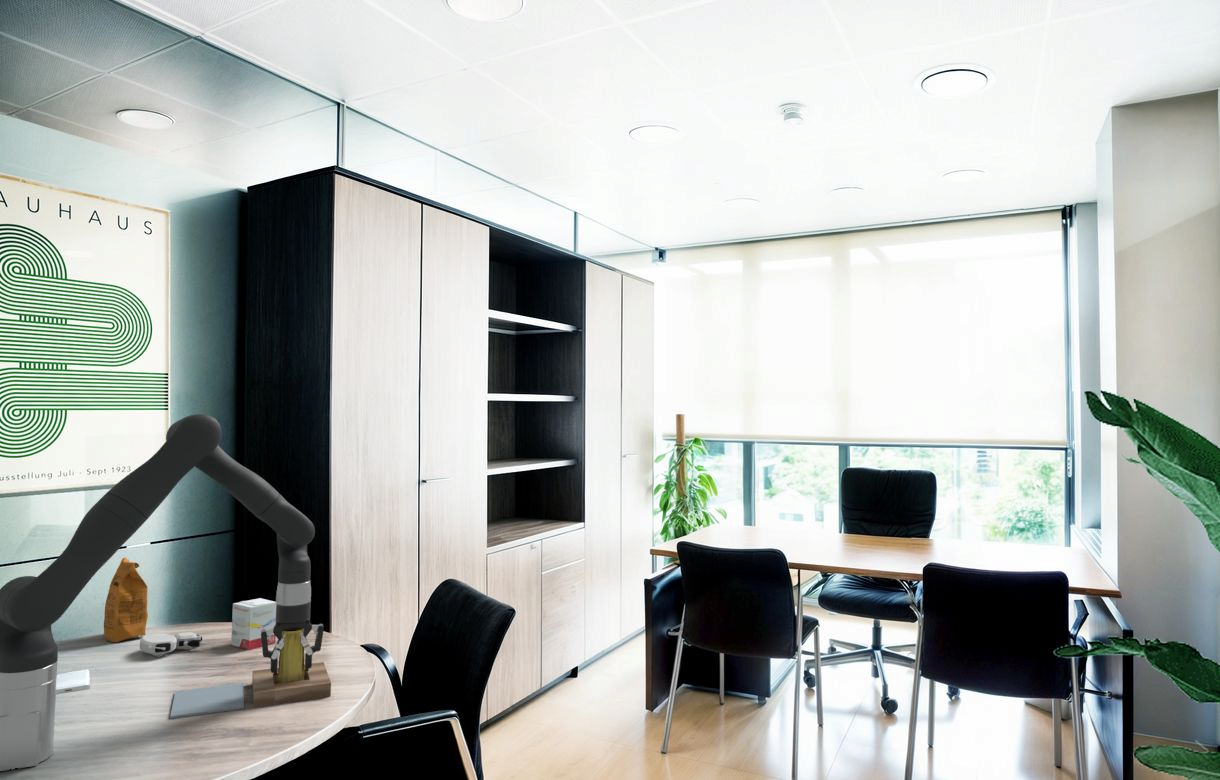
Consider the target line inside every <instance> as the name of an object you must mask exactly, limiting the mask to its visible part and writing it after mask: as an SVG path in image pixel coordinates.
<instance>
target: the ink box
mask: <svg viewBox="0 0 1220 780" xmlns="http://www.w3.org/2000/svg"><path fill="white" fill-rule="evenodd" d="M231 613H232V617H231V618H232V619H231V638H230V639H231V640H230V645H231V646H234V647H238V648H241V649H246V650H249V651H251V650H255V649H258V648H261V647H262V641H261V630H262V629H265V630H269V629H273V628H274V626H275V623H276V601H273V600H269V599H265V598H262V597H259V598H255V599H254V598H253V599H249V600H242V601H241V600H240V601H239V602H234V603H232V612H231ZM267 642H268V646H269V645H272V644H276V636H275V635H274V634H272V635H271V638H270V639H269V640H267Z"/></svg>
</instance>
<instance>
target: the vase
mask: <svg viewBox="0 0 1220 780" xmlns="http://www.w3.org/2000/svg"><path fill="white" fill-rule="evenodd" d="M301 631H302V633H303V635H304V629H301V630H297V631H282V636H283V635H284V634H285V638H284V646H283V648H282V650H281V651H280V652H279V654H278V656H279V657H278V667H277V668H278V684H280V683H287V682H295V681H303V680H304V664H305V649H304V647H303V645H302V643H301ZM281 645H282V644H281Z"/></svg>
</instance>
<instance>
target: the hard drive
mask: <svg viewBox="0 0 1220 780" xmlns="http://www.w3.org/2000/svg"><path fill="white" fill-rule="evenodd" d="M90 682H91V679H90V669H82V670H81V669H80V670H73V671H68V672H60V673H57V678H56V695H58V694H64V693H66V694H67V693H70V692H71V693H72V692H76V691H84V690H89V689H91V688H90V687H91V683H90Z"/></svg>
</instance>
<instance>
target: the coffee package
mask: <svg viewBox="0 0 1220 780" xmlns="http://www.w3.org/2000/svg"><path fill="white" fill-rule="evenodd" d="M139 567H140V564H139V563H138V562H133V561H132V562H131V561H130V560H129V559H128V558H127V557H122V559H121V560H120V563H119V565H118V567H117V568H116V571H115V574H114V575H113V577H112V579H111V582H110V584H109V588H108V593H107V597H106V599H105V604H104V619H103V620H104V621H103V636H104V637H105V640H106V641H108V642H110V643H119V642H122V641H123V642H124V641H126V640H130V639H131V640H132V639H135V638H136V639H137V638H139V637H138V636H143V637H144V636H146V635H147V634H146V627H147V623H148V617H149V613H148V585H147V583H146V582H145V580H144V579H143V577H142V576H141V575H140V573H139V572H138V571H137V569H138V568H139Z"/></svg>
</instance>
